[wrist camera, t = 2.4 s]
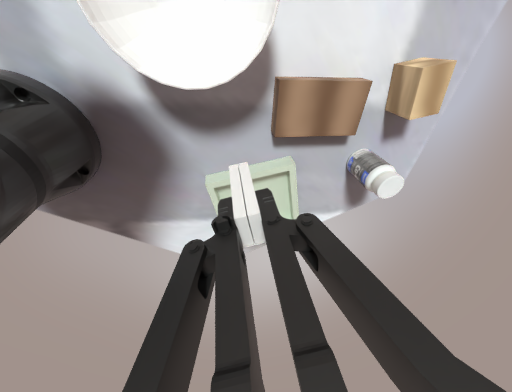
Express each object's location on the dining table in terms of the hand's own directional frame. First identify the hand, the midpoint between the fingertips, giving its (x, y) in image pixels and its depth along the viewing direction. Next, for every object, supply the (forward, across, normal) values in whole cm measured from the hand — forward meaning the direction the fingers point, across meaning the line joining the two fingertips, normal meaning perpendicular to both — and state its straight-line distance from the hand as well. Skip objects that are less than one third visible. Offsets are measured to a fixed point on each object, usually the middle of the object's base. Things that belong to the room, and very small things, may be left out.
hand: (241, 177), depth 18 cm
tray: (+14, +1, -14) cm, 20 cm away
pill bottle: (+15, +20, -11) cm, 27 cm away
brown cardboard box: (+15, +12, 0) cm, 19 cm away
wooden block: (+14, +25, 0) cm, 29 cm away
